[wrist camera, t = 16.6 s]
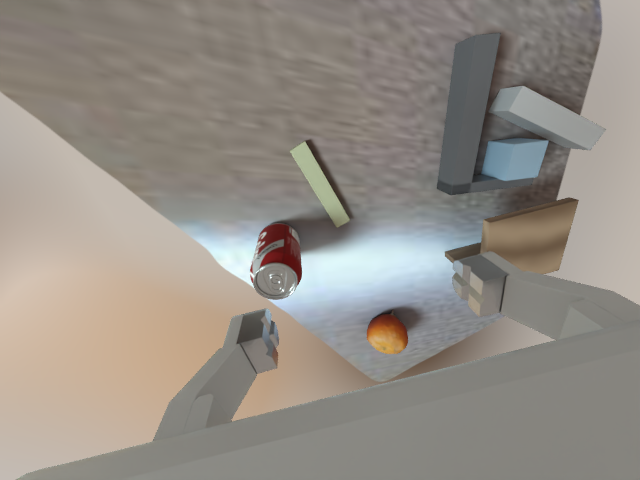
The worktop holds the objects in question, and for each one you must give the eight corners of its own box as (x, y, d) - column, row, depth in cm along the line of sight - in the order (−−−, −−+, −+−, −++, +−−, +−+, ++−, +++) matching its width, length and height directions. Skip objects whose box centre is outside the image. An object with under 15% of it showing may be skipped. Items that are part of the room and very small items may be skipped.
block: (487, 141, 37) (514, 144, 33) (518, 137, 38) (548, 140, 33) (481, 173, 40) (505, 180, 35) (510, 170, 40) (537, 176, 36)
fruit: (414, 327, 52) (411, 363, 47) (380, 325, 57) (372, 358, 51) (403, 302, 49) (397, 338, 43) (367, 303, 53) (357, 335, 47)
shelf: (445, 199, 41) (489, 222, 32) (514, 182, 41) (578, 200, 32) (445, 256, 46) (482, 289, 37) (506, 240, 46) (558, 270, 37)
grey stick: (486, 111, 36) (508, 110, 32) (499, 89, 34) (523, 85, 31) (563, 147, 39) (590, 150, 36) (576, 128, 38) (606, 129, 35)
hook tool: (454, 44, 31) (475, 35, 28) (548, 35, 32) (580, 25, 29) (436, 188, 40) (450, 195, 37) (510, 178, 41) (531, 184, 37)
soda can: (297, 219, 40) (300, 256, 29) (301, 255, 43) (304, 300, 32) (255, 223, 39) (242, 262, 29) (262, 258, 42) (252, 306, 32)
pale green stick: (348, 217, 41) (350, 220, 40) (335, 224, 41) (336, 228, 40) (304, 140, 35) (305, 141, 34) (289, 149, 35) (289, 151, 34)
